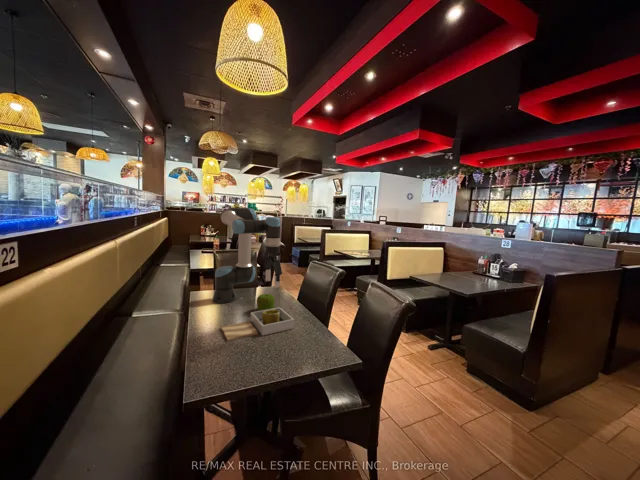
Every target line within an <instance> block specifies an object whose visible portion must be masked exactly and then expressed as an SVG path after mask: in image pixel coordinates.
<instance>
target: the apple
mask: <svg viewBox="0 0 640 480" xmlns="http://www.w3.org/2000/svg"><path fill="white" fill-rule="evenodd" d="M275 300H276V299H275V295H273V294H272V293H262V294H260V295H258V297H257V298H256V306H257V307H256V308H257V311H262V310H267V309H273V308H275Z"/></svg>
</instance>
